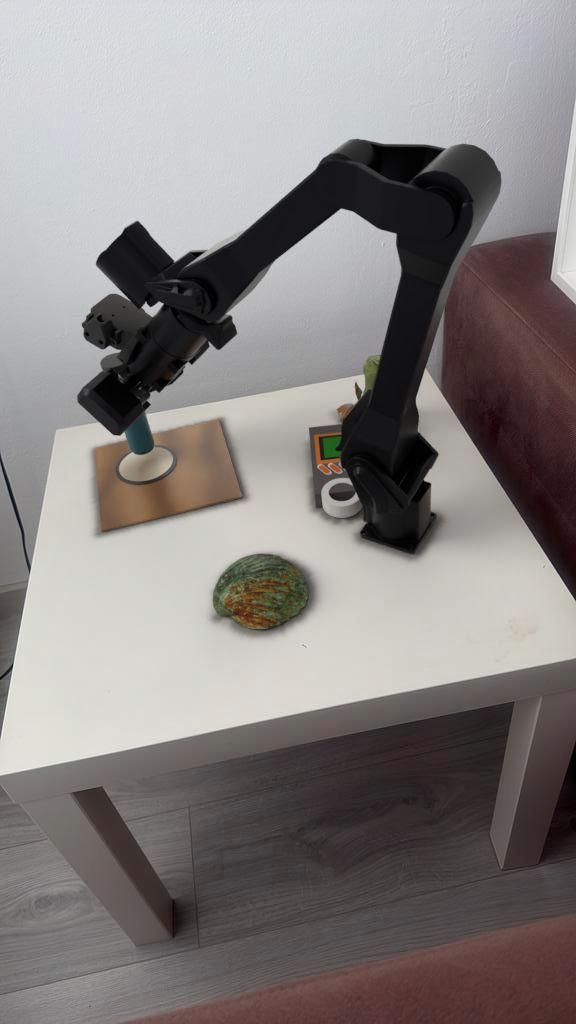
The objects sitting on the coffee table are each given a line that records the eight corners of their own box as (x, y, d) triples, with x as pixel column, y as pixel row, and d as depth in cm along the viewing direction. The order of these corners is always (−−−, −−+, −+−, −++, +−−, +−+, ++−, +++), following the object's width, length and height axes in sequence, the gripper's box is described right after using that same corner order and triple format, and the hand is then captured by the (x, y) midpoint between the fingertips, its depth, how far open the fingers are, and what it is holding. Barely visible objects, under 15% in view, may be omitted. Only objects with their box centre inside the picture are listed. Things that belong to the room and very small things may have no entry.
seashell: (318, 577, 71) (222, 617, 69) (323, 607, 74) (231, 646, 72) (280, 522, 79) (192, 556, 77) (286, 551, 81) (201, 584, 79)
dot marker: (155, 454, 93) (126, 365, 85) (128, 458, 93) (98, 369, 85) (157, 438, 96) (130, 350, 87) (131, 442, 96) (102, 354, 87)
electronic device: (315, 507, 82) (308, 423, 92) (317, 525, 84) (310, 441, 94) (376, 501, 81) (361, 417, 92) (376, 519, 83) (362, 435, 94)
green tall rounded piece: (366, 438, 94) (363, 370, 87) (359, 415, 98) (355, 348, 91) (409, 432, 94) (409, 363, 87) (401, 408, 98) (400, 341, 91)
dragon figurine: (397, 438, 91) (388, 384, 94) (343, 432, 89) (335, 377, 92) (375, 463, 97) (367, 412, 100) (323, 458, 94) (317, 406, 98)
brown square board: (219, 420, 101) (218, 418, 100) (242, 497, 88) (241, 494, 88) (95, 449, 99) (94, 446, 99) (101, 532, 86) (100, 529, 86)
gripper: (166, 243, 83) (115, 320, 95) (62, 321, 72) (18, 398, 83) (238, 314, 85) (179, 381, 97) (147, 402, 74) (93, 466, 85)
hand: (120, 403), depth 91 cm, fingers closed on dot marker, 3 cm apart
